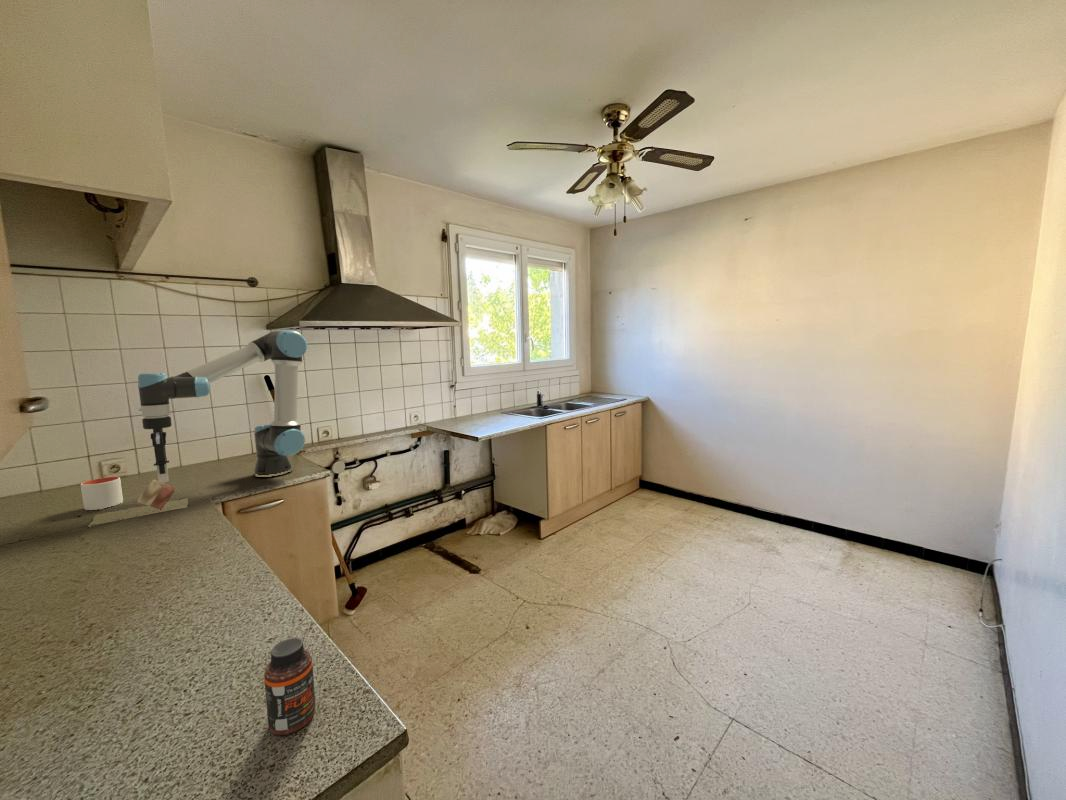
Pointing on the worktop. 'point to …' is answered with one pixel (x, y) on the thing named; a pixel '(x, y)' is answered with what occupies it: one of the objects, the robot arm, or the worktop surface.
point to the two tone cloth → (156, 494)
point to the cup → (101, 493)
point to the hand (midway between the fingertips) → (163, 482)
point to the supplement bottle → (289, 687)
